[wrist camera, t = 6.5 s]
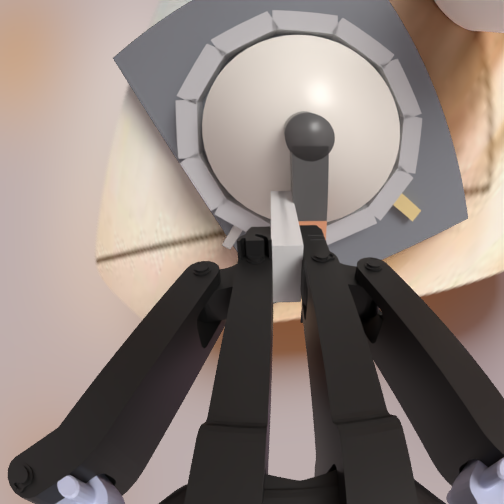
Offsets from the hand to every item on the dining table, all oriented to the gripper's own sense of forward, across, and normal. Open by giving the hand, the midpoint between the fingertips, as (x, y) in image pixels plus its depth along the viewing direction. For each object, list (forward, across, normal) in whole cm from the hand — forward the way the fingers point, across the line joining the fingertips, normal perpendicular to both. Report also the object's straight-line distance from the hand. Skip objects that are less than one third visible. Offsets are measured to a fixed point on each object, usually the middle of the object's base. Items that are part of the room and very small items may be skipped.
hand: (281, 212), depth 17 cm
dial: (+3, +2, +5) cm, 6 cm away
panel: (+5, +2, +5) cm, 7 cm away
